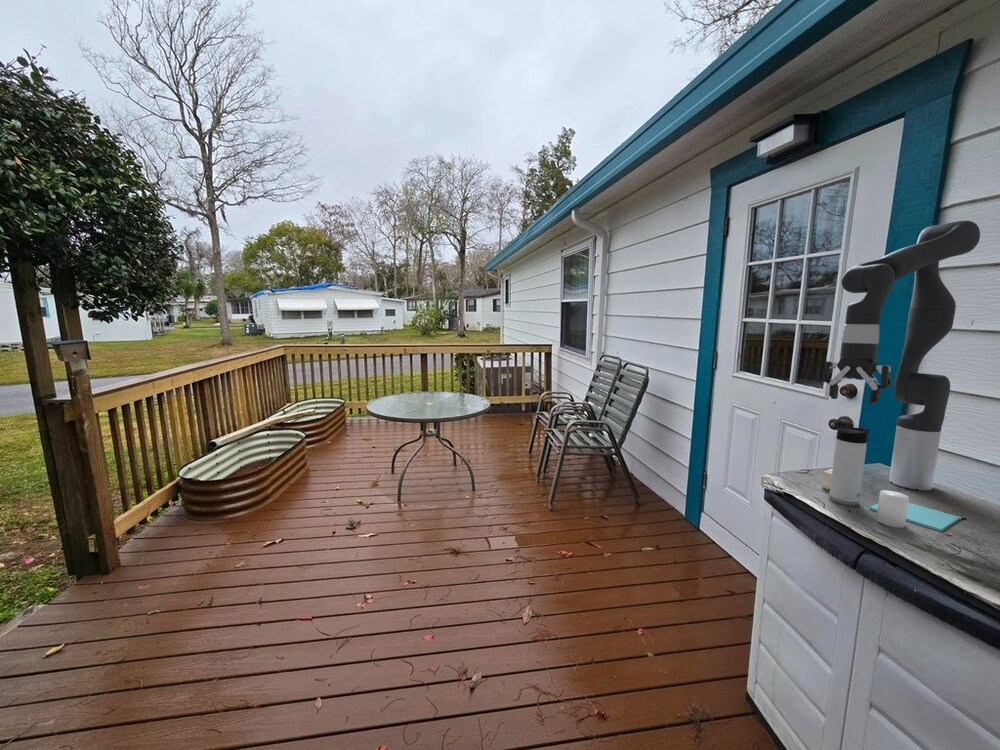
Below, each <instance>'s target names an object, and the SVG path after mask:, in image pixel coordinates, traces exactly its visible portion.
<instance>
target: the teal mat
mask: <svg viewBox="0 0 1000 750" xmlns="http://www.w3.org/2000/svg"><path fill="white" fill-rule="evenodd" d="M869 510H870V511H873V512H876V513H877V511H878V503H876V504H873V505H872V506H869ZM960 518H961V517H960V516H957V515H954V514H951V513H947V512H943V511H939V510H936V509H933V508H930V507H925V506H922V505H918V504H916V503H912V502H908V508H907V515H906V522H909V523H912V524H915V525H919V526H922V527H926V528H929V529H931V530H935V531H936V532H940V533H941V532H943V531H944V530H946V529H947V528H949V527H950V526H952V525H953V524H955V523H956V522H958V521H959V520H960Z"/></svg>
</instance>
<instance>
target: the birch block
mask: <svg viewBox="0 0 1000 750" xmlns="http://www.w3.org/2000/svg"><path fill="white" fill-rule="evenodd" d="M831 476H832V468H830V469H827V470H824V471H823V477H822V483H821V488H822V489H824V488H826V489H825V490H828V489H830V485H831Z"/></svg>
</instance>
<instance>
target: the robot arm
mask: <svg viewBox="0 0 1000 750" xmlns="http://www.w3.org/2000/svg"><path fill="white" fill-rule="evenodd" d="M980 238H981V229H980V228H979V226H978V224H977V223H975V222H974V221H972V220H956V221H953V222H952V221H950V222H946V223H941V224H936V225H931V226H927V227H925V228H923V230H921V232H920V233H919V236H918V238H917V241H916V244H913V245H909V246H906V247H903V248H900V249H897V250H894V251H893V252H890V253H888V254H886V255H885V256H883V257H881V258H877V259H874V260H871V261H867V262H864V263H860V264H857V265H855V266H852V267H850V268H849V269H848V270H847V271H846V272H845V273H843V276H842V278H841V280H840V281H841V286H842V289H843V290H844V291H846V292H848V293H851V294H863V293H866V294H865V296H864V298H862V299H861V300H859V301H856V302H855V301H854V302H851V303H849V304H848V305H847V307H846V313H845V320H844V327H843V331H842V336H841V345H840V353H839V354H840V356H839V361H838V362H837V361H833V360H830V361H829V360H828V361H827V360H826V362H825V364H824V369H823V373H822V379H821V381H822V382H823V383H826V384H828V385H829V392H828V393H829V394H828V395H829V397H830V398H831V400H832V399H833V400H837V399H838V398H839V388H840V385H839V384H840V383H841V382H842V381H843V380H845V379H848V380H852V379H855V380H857V381H863V380H864V381H865V382H866V384H868V386H869V387H870V388H871V389H870V394H869V401H868V403H869V405H875V404H877V403H878V402H879V401H880V398H881V397H880V396H881V391H882V390H885V389H890V388H891V386H892V366H891V365H889V364H887V365H886V364H885V365H878V364H877V359H878V348H879V341H880V335H881V334H880V330H881V329H880V323H881V314H882V310H883V307H884V306H885V303H886V301H887V298H888V296H889V294H890V292H891V290H892V288H893V286H894V283H895V281H897V280H899V279H901V278H904V277H906V276H907V275H909V274H912V273H914V283H913V289H912V294H911V295H912V296H911V302H910V307H909V310H908V317H907V322H906V331H905V332H906V333H905V338H904V345H903V350H902V354H901V359H900V362H899V366H898V370H897V373H896V376H895V380H894V386H893V396H894V399H895V400H896V401H898V402H899V403H903V404H909V405H910V404H911V405H918V406H924V407H923V410H922V411H921V412H918V413H913V414H904V415H900V416H898V417H897V420H896V429H895V433H894V434H895V435H894V443H893V451H892V457H891V464H890V471H889V479H888V480H889V482H890V483H891V482H892V484H893V485H896V486H899V487H902V488H907V489H911V490H916V489H918V490H917V491H932V490H933V486H934V481H935V475H936V474H935V473H936V467H937V461H938V455H939V454H938V453H939V447H940V440H941V434H942V433H941V432H942V427H943V424H944V421H945V415H946V410H947V407H948V406H947V405H948V402H949V397H950V393H951V382H950V379H949V378H948V377H947V376H945V375H943V374H934V373H922V372H919V368H920V365H921V363H922V361H923V359H924V358H925V357H926V355H927V354H928V353H929V352H930V351H931V350H932V349H933V348H935V346H936V345H937V344H939V343H940V342H941V341H942V340H943V339H944V338H945V337H946V336H947V335H948V334H949V333H950V331H951V330H952V328H953V325H954V321H955V315H956V308H957V305H956V300H955V298H954V296H953V295H952V293H951V292H950V291H949V289H948V288H947V286H946V285H945V283H944V282H943V281H942V278H941V276H940V271H939V270H940V268H939V266H940V261H943V260H947V259H949V258H952V257H957V256H961V255H966V254H968V253H970V252H972V251H973V250H974V249H975V248H976V247H977V245H979V242H980ZM837 368H838V370H839V372H838V373H837V374H836V375H834V378H832V377H833V373H834V370H835V369H837ZM876 371H878V373H879V374H881V377H880V378H881V380H880V383H879V382H878V380H877V378H876V377H875V375H874V374H873V373H875V372H876ZM931 489H932V490H931Z"/></svg>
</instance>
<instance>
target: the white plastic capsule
mask: <svg viewBox="0 0 1000 750" xmlns="http://www.w3.org/2000/svg"><path fill="white" fill-rule="evenodd" d="M878 496H879V497H878V502H877V504H878V511H877V512H876V521H877V522H878V523H880V524H883V525H885V526H889V527H893V528H898V529H899V528H900V529H901V528H902V529H903V528H905V526H906V522H907V521H906V515H907V508H908V503H909V499H910V497H909V495H907V494H904V493H902V492H897V491H893V490H888V489H887V490H886V489H882V490H880V491H879V495H878Z"/></svg>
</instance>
